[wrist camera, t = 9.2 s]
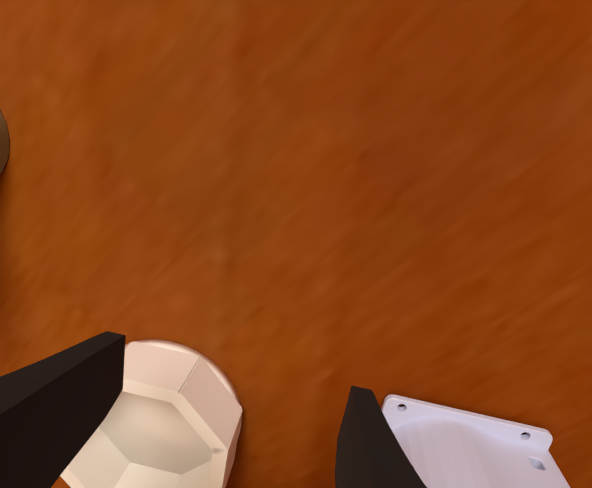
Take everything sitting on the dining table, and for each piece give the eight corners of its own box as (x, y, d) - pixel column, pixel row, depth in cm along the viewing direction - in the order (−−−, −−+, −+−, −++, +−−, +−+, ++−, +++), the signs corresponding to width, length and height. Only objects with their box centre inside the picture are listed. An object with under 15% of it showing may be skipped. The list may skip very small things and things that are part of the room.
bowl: (252, 359, 25) (235, 404, 21) (231, 485, 28) (213, 544, 24) (93, 323, 25) (48, 360, 21) (90, 450, 28) (50, 502, 25)
